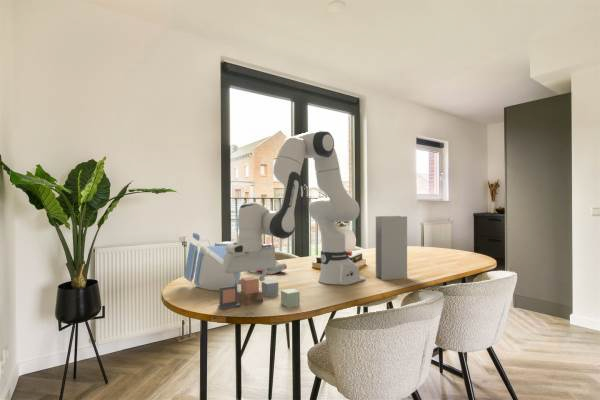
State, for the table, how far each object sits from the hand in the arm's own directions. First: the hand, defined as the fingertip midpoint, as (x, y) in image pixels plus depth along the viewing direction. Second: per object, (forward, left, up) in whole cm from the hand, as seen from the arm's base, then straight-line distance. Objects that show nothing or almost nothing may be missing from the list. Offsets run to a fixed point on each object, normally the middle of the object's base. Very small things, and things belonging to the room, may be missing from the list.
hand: (250, 282), depth 127 cm
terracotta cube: (0, 0, -4) cm, 4 cm away
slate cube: (-11, -5, -7) cm, 14 cm away
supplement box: (-8, -45, -7) cm, 46 cm away
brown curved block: (0, 0, -8) cm, 8 cm away
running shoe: (-28, -43, -8) cm, 52 cm away
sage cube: (-11, +11, -7) cm, 17 cm away
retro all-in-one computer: (+3, -28, -8) cm, 29 cm away
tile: (+9, +2, -7) cm, 12 cm away
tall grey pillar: (-74, +2, -7) cm, 74 cm away
